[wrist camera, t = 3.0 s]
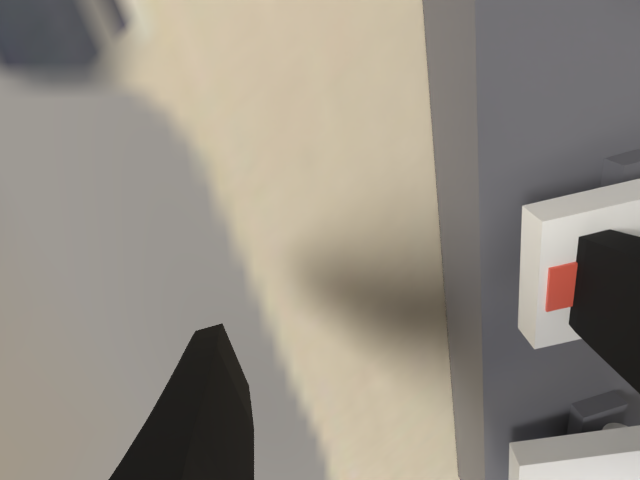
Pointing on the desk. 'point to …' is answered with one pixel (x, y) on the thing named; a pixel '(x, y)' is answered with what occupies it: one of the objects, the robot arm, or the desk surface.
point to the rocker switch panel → (524, 201)
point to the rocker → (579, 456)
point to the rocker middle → (565, 254)
